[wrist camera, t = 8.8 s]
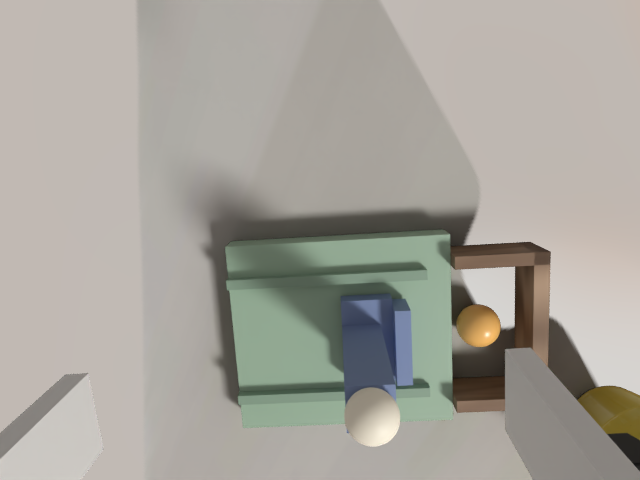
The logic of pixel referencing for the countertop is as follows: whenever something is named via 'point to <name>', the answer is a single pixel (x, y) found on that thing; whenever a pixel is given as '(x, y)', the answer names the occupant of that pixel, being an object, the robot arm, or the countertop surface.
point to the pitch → (334, 321)
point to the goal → (528, 313)
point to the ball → (478, 325)
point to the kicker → (375, 364)
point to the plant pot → (613, 409)
